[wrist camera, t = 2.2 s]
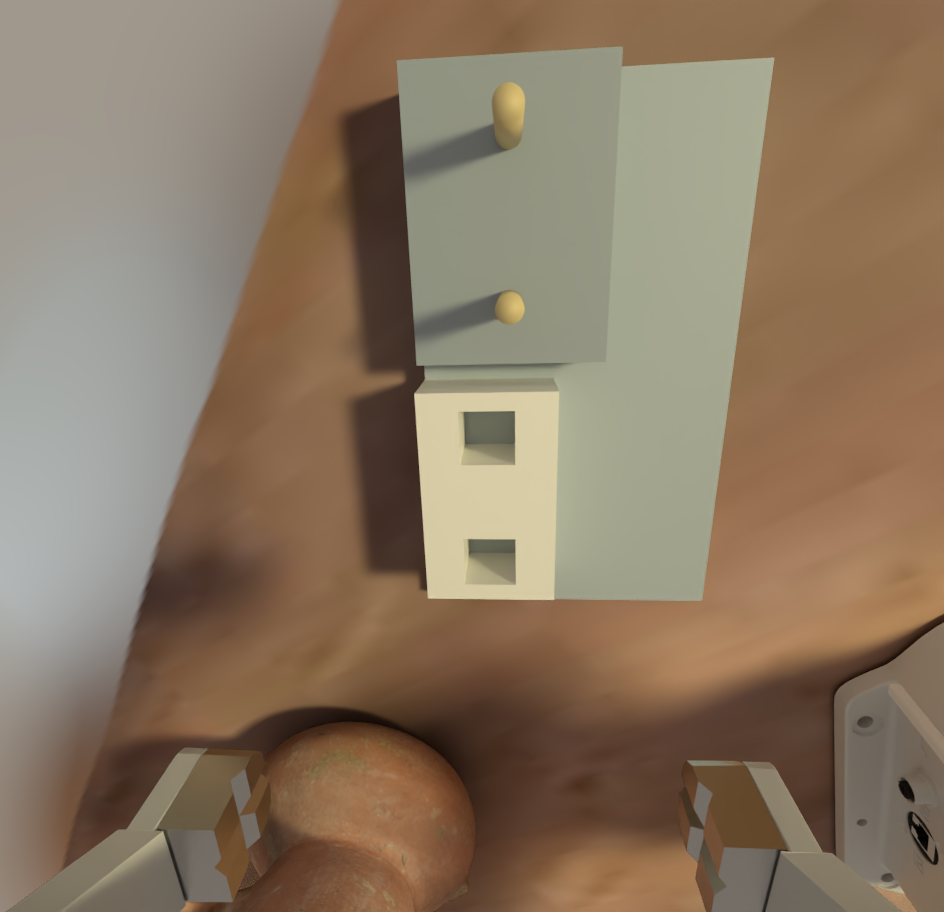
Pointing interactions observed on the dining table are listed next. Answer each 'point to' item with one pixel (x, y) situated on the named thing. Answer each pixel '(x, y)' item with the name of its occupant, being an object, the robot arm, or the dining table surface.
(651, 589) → the grey-green stepped plate
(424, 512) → the two-hole cream block
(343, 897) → the ceramic jug
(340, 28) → the dining table surface
